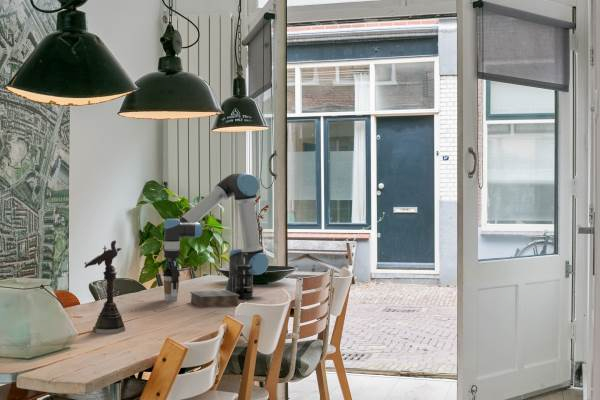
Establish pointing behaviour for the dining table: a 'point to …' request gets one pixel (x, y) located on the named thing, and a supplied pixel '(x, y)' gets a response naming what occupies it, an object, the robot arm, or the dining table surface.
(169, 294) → the coffee cup
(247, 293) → the french press
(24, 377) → the dining table surface
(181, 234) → the robot arm
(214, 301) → the walnut stand
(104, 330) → the bird statue
